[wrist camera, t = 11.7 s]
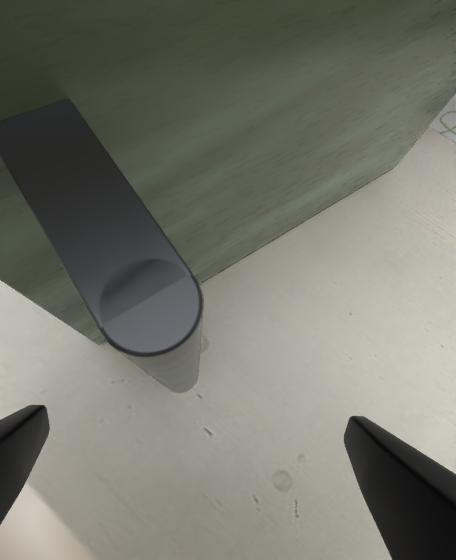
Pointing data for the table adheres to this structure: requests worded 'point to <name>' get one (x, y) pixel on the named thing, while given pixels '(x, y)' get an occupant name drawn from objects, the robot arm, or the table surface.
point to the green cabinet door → (193, 144)
